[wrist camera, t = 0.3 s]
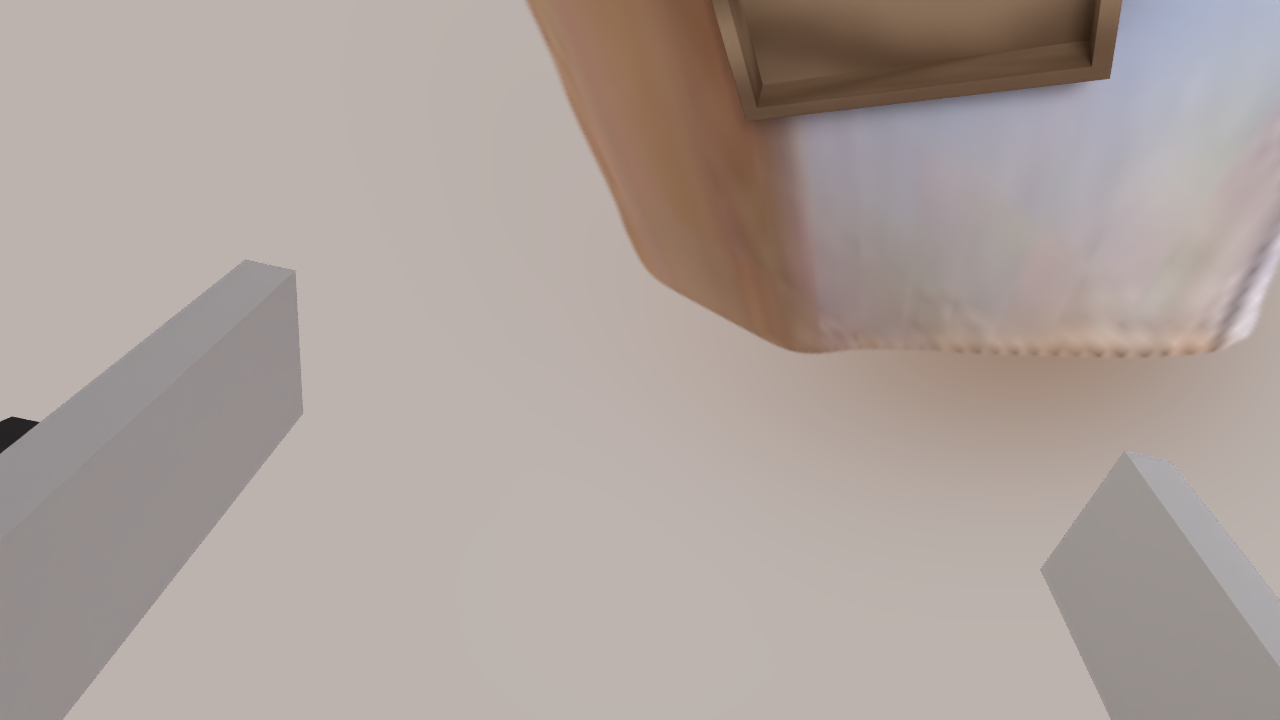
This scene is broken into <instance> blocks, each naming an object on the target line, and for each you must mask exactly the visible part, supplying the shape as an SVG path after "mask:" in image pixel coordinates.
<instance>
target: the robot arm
mask: <svg viewBox="0 0 1280 720" xmlns="http://www.w3.org/2000/svg"><path fill="white" fill-rule="evenodd" d="M300 368H301V367H300V348H299V329H298V312H297V292H296V273H295V270H290V269H286V268H281V267H276V266H272V265H267V264H263V263H258V262H254V261H249V260H244V261H243V262H242V263H240V264H239V265H238V266H237V267H235V268H234V269H233V270H232V271H230V272H229V273H228V274H227V275H225V276H224V277H223V278H221V279H220V280H219V281H218V282H216V283H215V284H214V285H213V286H211V287H210V288H209V289H208V290H206V291H205V292H204V293H202V294H201V295H200V296H199V297H198V298H196V299H195V300H194V301H192V302H191V303H190V304H189V305H187V306H186V307H185V308H184V309H182V310H181V311H180V312H179V313H177V314H176V315H175V316H173V317H172V318H171V319H170V320H168V321H167V322H166V323H165V324H163V325H162V326H161V327H160V328H158V329H157V330H156V331H155V332H153V333H152V334H151V335H150V336H148V337H147V338H146V339H144V340H143V341H142V342H141V343H139V344H138V345H137V346H136V347H134V348H133V349H132V350H131V351H129V352H128V353H127V354H126V355H124V356H123V357H122V358H120V359H119V360H118V361H117V362H115V363H114V364H113V365H112V366H110V367H109V368H108V369H107V370H105V371H104V372H103V373H102V374H100V375H99V376H98V377H97V378H95V379H94V380H93V381H91V382H90V383H89V384H88V385H86V386H85V387H84V388H83V389H82V390H80V391H79V392H78V393H76V394H75V395H74V396H73V397H71V398H70V399H69V400H68V401H66V402H65V403H64V404H62V405H61V406H60V407H59V408H58V409H56V410H55V411H54V412H52V413H51V414H50V415H49V416H47V417H46V418H45V419H44V420H42V421H41V422H36V421H31V420H26V419H21V418H17V417H10V418H8V419H5V420H3V421H1V422H0V720H63V718H64V717H65V716H66V714H67V713H68V712H69V711H70V710H71V708H72V707H73V706H74V704H75V703H76V702H77V701H78V699H79V698H80V697H81V695H82V694H83V693H84V691H85V690H86V689H87V688H88V687H89V685H90V684H91V683H92V682H93V680H94V679H95V678H96V676H97V675H98V674H99V673H100V671H101V670H102V669H103V668H104V666H105V665H106V664H107V662H108V661H109V660H110V659H111V657H112V656H113V655H114V654H115V652H116V651H117V650H118V648H119V647H120V646H121V645H122V643H123V642H124V641H125V640H126V638H127V637H128V636H129V634H130V633H131V632H132V631H133V629H134V628H135V627H136V625H137V624H138V623H139V622H140V620H141V619H142V618H143V617H144V615H145V614H146V613H147V611H148V610H149V609H150V608H151V606H152V605H153V604H154V603H155V601H156V600H157V599H158V597H159V596H160V595H161V594H162V592H163V591H164V590H165V588H166V587H167V586H168V585H169V583H170V582H171V581H172V580H173V578H174V577H175V576H176V574H177V573H178V572H179V571H180V569H181V568H182V567H183V566H184V564H185V563H186V562H187V561H188V559H189V558H190V557H191V555H192V554H193V553H194V552H195V550H196V549H197V548H198V546H199V545H200V544H201V543H202V541H203V540H204V539H205V538H206V536H207V535H208V534H209V533H210V531H211V530H212V529H213V527H214V526H215V525H216V523H217V522H218V521H219V520H220V518H221V517H222V516H223V515H224V513H225V512H226V511H227V510H228V508H229V507H230V506H231V504H232V503H233V502H234V501H235V499H236V498H237V497H238V495H239V494H240V493H241V492H242V490H243V489H244V488H245V487H246V485H247V484H248V483H249V481H250V480H251V479H252V478H253V476H254V475H255V474H256V472H257V471H258V470H259V469H260V468H261V466H262V465H263V464H264V462H265V461H266V460H267V458H268V457H269V456H270V455H271V454H272V452H273V451H274V450H275V448H276V447H277V446H278V445H279V443H280V442H281V441H282V439H283V438H284V437H285V436H286V434H287V433H288V432H289V431H290V429H291V428H292V427H293V425H294V424H295V423H296V422H297V420H298V419H299V418H300V417H301V415H302V414H303V404H302V386H301V369H300ZM1041 572H1042V574H1043V576H1044V578H1045V580H1046V582H1047V585H1048V587H1049V589H1050V591H1051V593H1052V595H1053V597H1054V599H1055V601H1056V604H1057V606H1058V608H1059V610H1060V612H1061V614H1062V616H1063V619H1064V621H1065V623H1066V625H1067V627H1068V629H1069V631H1070V633H1071V636H1072V637H1073V640H1074V642H1075V644H1076V646H1077V648H1078V650H1079V652H1080V655H1081V657H1082V659H1083V661H1084V663H1085V665H1086V667H1087V670H1088V672H1089V674H1090V676H1091V678H1092V680H1093V682H1094V684H1095V686H1096V689H1097V691H1098V693H1099V695H1100V697H1101V699H1102V701H1103V703H1104V706H1105V708H1106V710H1107V712H1108V714H1109V716H1110V718H1111V720H1280V599H1279V598H1278V597H1277V596H1276V594H1275V593H1274V592H1273V590H1272V589H1271V588H1270V587H1269V585H1268V584H1267V583H1266V582H1265V580H1264V579H1263V578H1262V576H1261V575H1260V574H1259V573H1258V571H1257V570H1256V569H1255V568H1254V566H1253V565H1252V564H1251V562H1250V561H1249V560H1248V559H1247V557H1246V556H1245V555H1244V554H1243V552H1242V551H1241V550H1240V549H1239V547H1238V546H1237V545H1236V543H1235V542H1234V541H1233V540H1232V538H1231V537H1230V536H1229V534H1228V533H1227V532H1226V531H1225V529H1224V528H1223V527H1222V526H1221V524H1220V523H1219V522H1218V520H1217V519H1216V518H1215V517H1214V515H1213V514H1212V513H1211V511H1210V510H1209V509H1208V508H1207V507H1206V505H1205V504H1204V503H1203V501H1202V500H1201V499H1200V498H1199V496H1198V495H1197V494H1196V492H1195V491H1194V490H1193V489H1192V487H1191V486H1190V485H1189V483H1188V482H1187V481H1186V480H1185V479H1184V477H1183V476H1182V475H1181V473H1180V472H1179V471H1178V469H1176V467H1175V466H1174V464H1173V463H1172V462H1171V461H1168V460H1163V459H1158V458H1154V457H1149V456H1145V455H1140V454H1136V453H1131V452H1127V451H1124V452H1123V454H1122V455H1121V457H1120V458H1119V459H1118V461H1117V462H1116V464H1115V465H1114V466H1113V468H1112V469H1111V471H1110V472H1109V474H1108V475H1107V477H1106V478H1105V479H1104V481H1103V482H1102V483H1101V485H1100V486H1099V488H1098V489H1097V491H1096V492H1095V493H1094V495H1093V496H1092V497H1091V499H1090V500H1089V502H1088V503H1087V504H1086V506H1085V507H1084V509H1083V510H1082V512H1081V513H1080V514H1079V516H1078V517H1077V519H1076V520H1075V521H1074V523H1073V524H1072V526H1071V527H1070V528H1069V530H1068V531H1067V533H1066V534H1065V535H1064V537H1063V538H1062V540H1061V541H1060V542H1059V544H1058V545H1057V547H1056V548H1055V550H1054V551H1053V553H1052V554H1051V555H1050V557H1049V558H1048V559H1047V561H1046V562H1045V564H1044V565H1043V566H1042V568H1041Z"/></svg>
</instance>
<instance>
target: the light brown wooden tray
mask: <svg viewBox="0 0 1280 720" xmlns="http://www.w3.org/2000/svg"><path fill="white" fill-rule="evenodd" d="M712 4H713V7H714V11H715V14H716V18H717V21H718V25H719V28H720V32H721V35H722V39H723V42H724V46H725V49H726V53H727V56H728V60H729V63H730V67H731V70H732V74H733V77H734V81H735V84H736V88H737V91H738V95H739V98H740V102H741V105H742V109H743V112H744V116H745V119H746V121H754V120H762V119H771V118H779V117H788V116H796V115H805V114H813V113H822V112H830V111H839V110H847V109H856V108H864V107H873V106H881V105H890V104H898V103H907V102H915V101H924V100H932V99H941V98H949V97H958V96H966V95H975V94H983V93H992V92H1000V91H1009V90H1017V89H1026V88H1034V87H1043V86H1051V85H1060V84H1068V83H1077V82H1085V81H1094V80H1102V79H1110V74H1111V67H1112V61H1113V55H1114V49H1115V42H1116V36H1117V30H1118V24H1119V17H1120V11H1121V5H1122V0H712Z"/></svg>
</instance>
